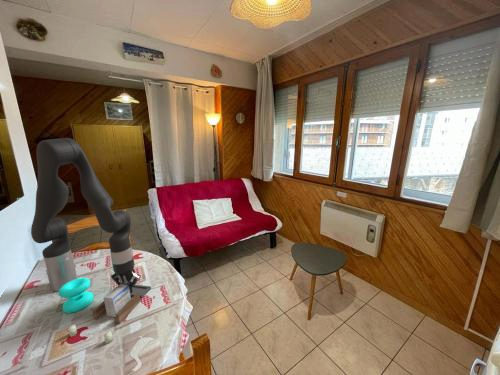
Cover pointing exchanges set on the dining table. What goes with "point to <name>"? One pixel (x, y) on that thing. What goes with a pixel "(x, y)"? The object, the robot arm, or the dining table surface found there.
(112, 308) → the medicine box
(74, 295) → the turquoise spool
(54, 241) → the robot arm
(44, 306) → the dining table surface
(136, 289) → the pit tray
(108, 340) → the pair of cream knobs
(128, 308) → the channel
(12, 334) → the dining table surface
